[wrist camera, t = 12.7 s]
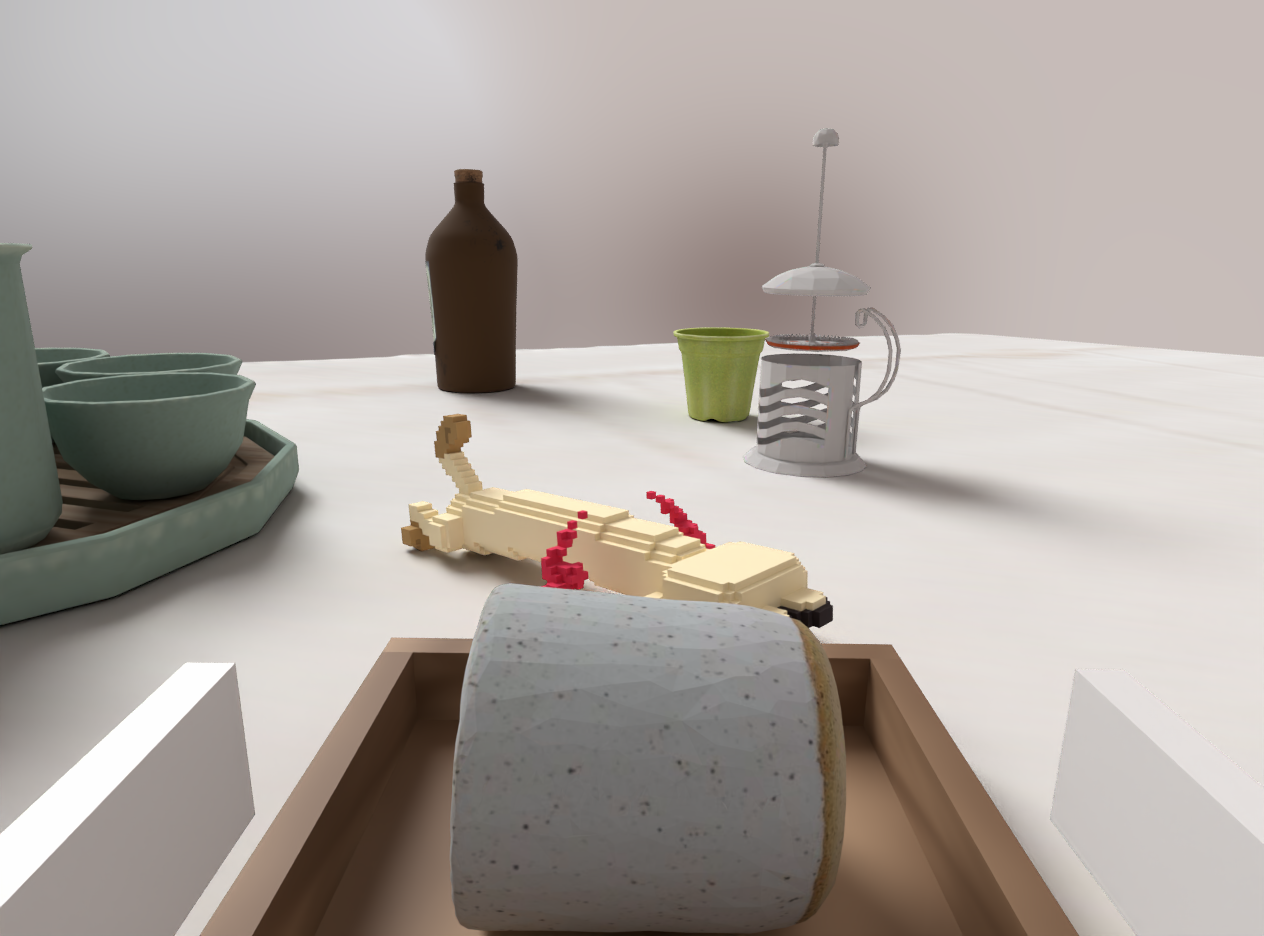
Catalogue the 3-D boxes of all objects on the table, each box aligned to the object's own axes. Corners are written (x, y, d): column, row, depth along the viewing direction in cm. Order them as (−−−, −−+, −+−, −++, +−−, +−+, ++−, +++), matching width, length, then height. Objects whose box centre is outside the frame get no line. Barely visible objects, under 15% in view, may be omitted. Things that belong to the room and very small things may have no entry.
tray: (59, 1383, 12) (16, 1220, 11) (398, 723, 28) (391, 637, 27) (1227, 1406, 12) (1277, 1243, 11) (882, 730, 28) (891, 644, 27)
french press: (777, 441, 71) (795, 140, 65) (906, 462, 65) (941, 129, 58) (719, 462, 64) (733, 125, 57) (859, 489, 57) (893, 109, 51)
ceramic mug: (849, 1018, 16) (881, 680, 15) (449, 1020, 16) (431, 678, 14) (759, 730, 27) (772, 510, 25) (514, 729, 27) (508, 508, 25)
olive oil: (530, 381, 102) (526, 174, 96) (505, 395, 92) (498, 165, 86) (451, 379, 104) (441, 175, 97) (418, 392, 94) (404, 165, 87)
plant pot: (705, 430, 75) (708, 337, 73) (654, 413, 83) (656, 328, 81) (783, 421, 80) (789, 333, 78) (728, 405, 88) (731, 325, 86)
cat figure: (371, 584, 43) (738, 748, 26) (352, 425, 42) (733, 485, 24) (518, 541, 50) (888, 647, 33) (507, 402, 48) (892, 436, 31)
